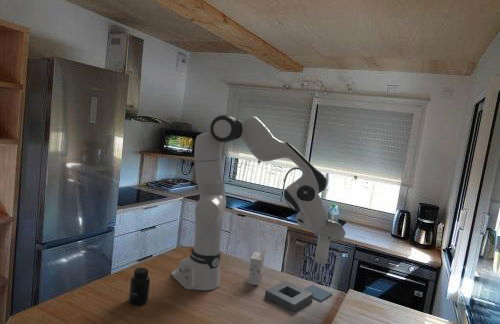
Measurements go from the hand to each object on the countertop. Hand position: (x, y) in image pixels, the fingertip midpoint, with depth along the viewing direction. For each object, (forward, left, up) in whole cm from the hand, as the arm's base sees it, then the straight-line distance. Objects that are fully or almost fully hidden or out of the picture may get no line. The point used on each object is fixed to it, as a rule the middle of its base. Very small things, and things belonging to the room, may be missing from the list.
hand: (325, 236), depth 145 cm
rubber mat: (0, -1, -25) cm, 25 cm away
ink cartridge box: (-24, -14, -25) cm, 38 cm away
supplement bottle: (-39, -63, -25) cm, 78 cm away
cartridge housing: (-5, -15, -25) cm, 30 cm away
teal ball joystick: (0, -1, -11) cm, 11 cm away
